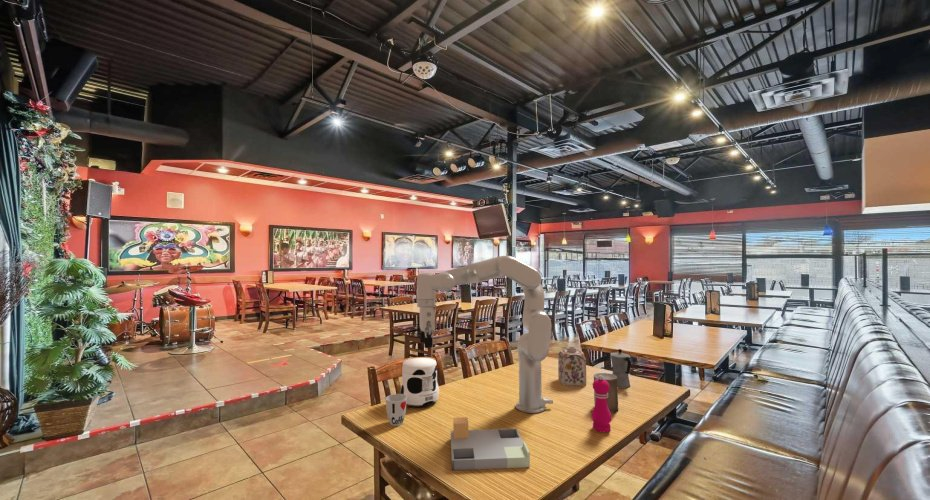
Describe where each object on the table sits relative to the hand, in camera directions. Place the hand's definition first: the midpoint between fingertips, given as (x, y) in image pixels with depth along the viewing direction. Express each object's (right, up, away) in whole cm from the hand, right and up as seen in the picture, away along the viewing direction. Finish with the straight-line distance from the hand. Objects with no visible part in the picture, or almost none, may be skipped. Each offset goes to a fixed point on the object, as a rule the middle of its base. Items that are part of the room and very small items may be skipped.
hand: (426, 344), depth 158 cm
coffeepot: (+95, -29, +34) cm, 105 cm away
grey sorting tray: (+23, -28, -30) cm, 48 cm away
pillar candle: (+76, -29, +6) cm, 82 cm away
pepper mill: (+68, -29, -14) cm, 75 cm away
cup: (-11, -29, -7) cm, 32 cm away
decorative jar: (+71, -30, +40) cm, 87 cm away
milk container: (-4, -30, +14) cm, 33 cm away
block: (+15, -26, -24) cm, 38 cm away
